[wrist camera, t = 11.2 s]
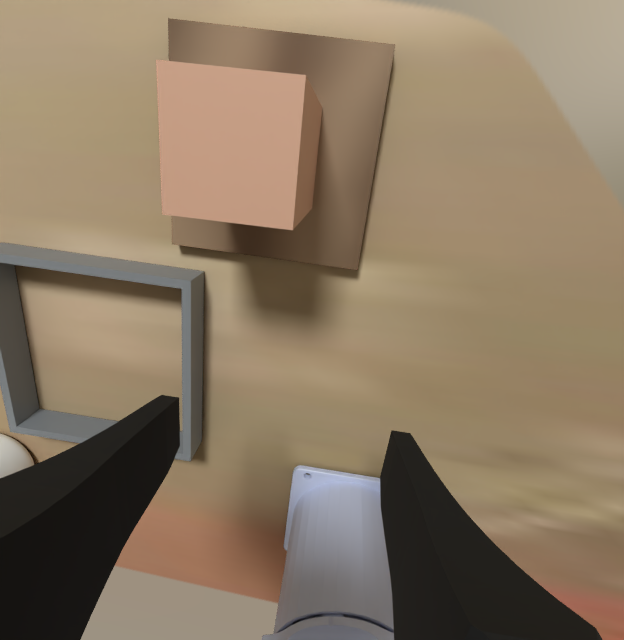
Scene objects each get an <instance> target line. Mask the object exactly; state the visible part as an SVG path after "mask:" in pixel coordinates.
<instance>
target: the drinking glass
mask: <svg viewBox="0 0 624 640" xmlns="http://www.w3.org/2000/svg"><path fill="white" fill-rule="evenodd" d="M33 465H35V464H34V461H33V459H32V456H31V455H30V453H29V452H28V451H27V449H26V448H25V447H24V446H23V445H22V444H20V443H19V442H18V441H16V440H15V439H13V438H11V437H9V436H7V435H4V434H1V433H0V478H2V477H5V476H8V475H10V474H13V473H15V472H18V471H20V470H23V469H25V468H28V467H30V466H33Z"/></svg>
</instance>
